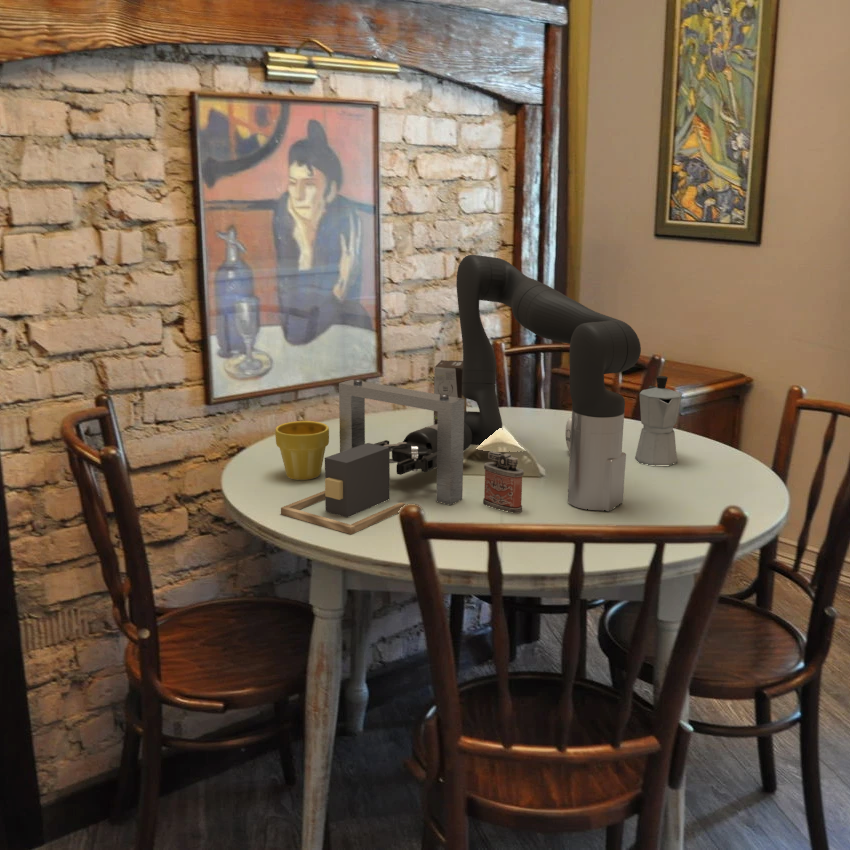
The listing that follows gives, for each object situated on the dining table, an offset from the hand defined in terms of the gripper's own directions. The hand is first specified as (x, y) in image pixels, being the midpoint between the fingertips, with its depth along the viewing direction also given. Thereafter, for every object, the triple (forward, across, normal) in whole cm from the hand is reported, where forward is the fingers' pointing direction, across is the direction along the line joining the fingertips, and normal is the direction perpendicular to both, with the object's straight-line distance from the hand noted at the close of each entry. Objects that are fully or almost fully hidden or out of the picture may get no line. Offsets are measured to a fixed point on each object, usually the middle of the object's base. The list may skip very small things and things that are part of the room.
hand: (379, 464), depth 180 cm
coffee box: (-45, -15, +6) cm, 48 cm away
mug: (-47, +19, +6) cm, 51 cm away
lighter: (-9, +21, +6) cm, 24 cm away
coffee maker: (-54, +31, +6) cm, 63 cm away
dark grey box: (+6, 0, +6) cm, 9 cm away
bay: (+10, 0, +6) cm, 12 cm away
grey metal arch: (-6, 0, +6) cm, 8 cm away
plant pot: (-1, -20, +6) cm, 21 cm away
